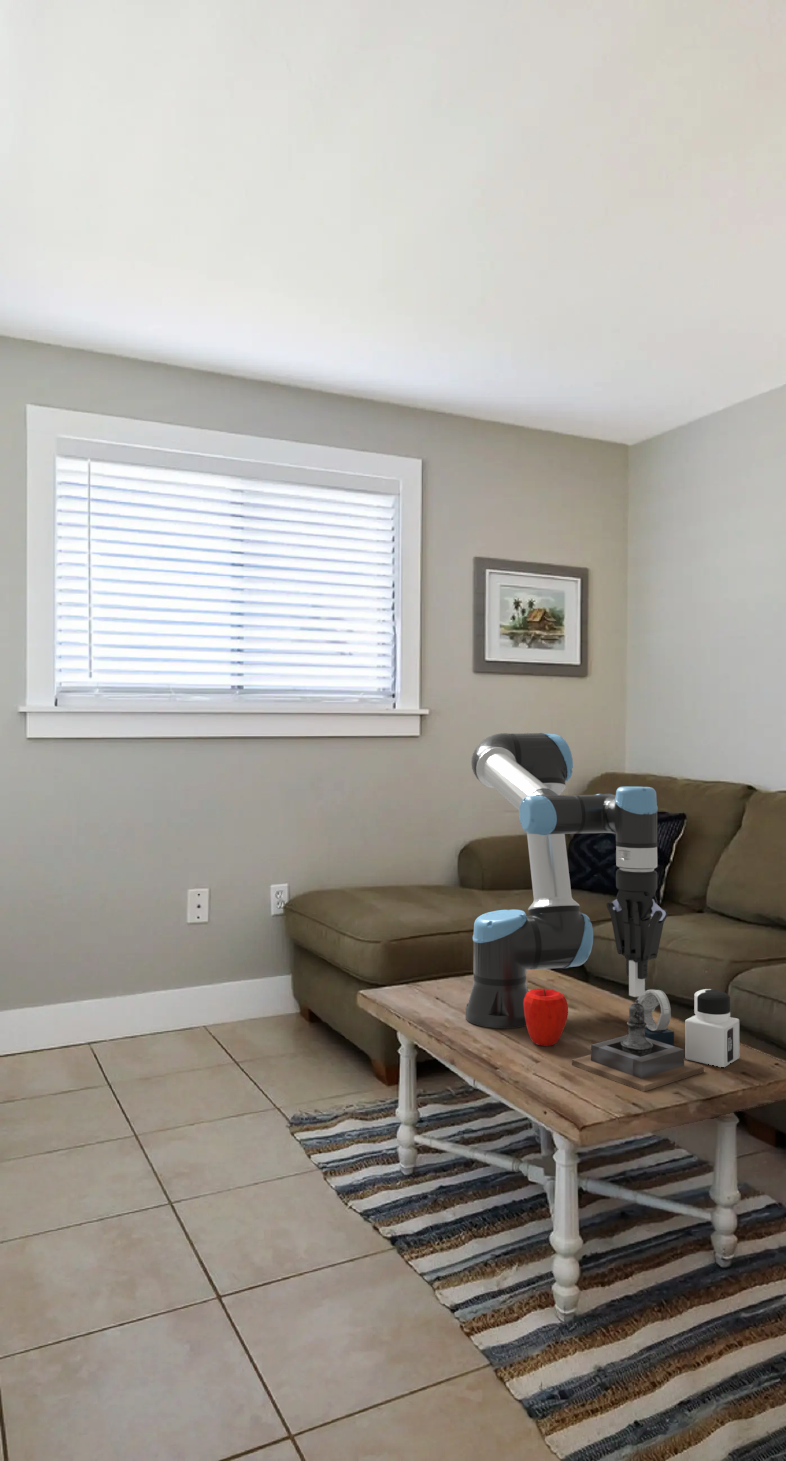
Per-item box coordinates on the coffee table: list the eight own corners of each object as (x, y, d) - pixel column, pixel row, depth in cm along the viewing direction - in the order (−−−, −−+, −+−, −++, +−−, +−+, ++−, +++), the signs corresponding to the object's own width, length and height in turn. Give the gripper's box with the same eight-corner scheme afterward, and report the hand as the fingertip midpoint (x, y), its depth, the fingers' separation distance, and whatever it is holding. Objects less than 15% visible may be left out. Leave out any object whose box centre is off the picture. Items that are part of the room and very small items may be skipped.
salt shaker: (618, 1066, 177) (618, 1001, 177) (623, 1056, 182) (623, 993, 182) (650, 1070, 174) (650, 1004, 175) (655, 1060, 180) (654, 996, 180)
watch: (656, 1038, 197) (656, 984, 197) (678, 1050, 189) (678, 994, 189) (632, 1040, 195) (632, 986, 195) (654, 1052, 188) (654, 996, 188)
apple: (574, 1041, 195) (573, 988, 195) (557, 1052, 187) (557, 997, 188) (533, 1034, 200) (533, 982, 200) (516, 1045, 192) (516, 991, 192)
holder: (571, 1065, 180) (571, 1044, 180) (631, 1048, 190) (631, 1028, 190) (643, 1091, 166) (643, 1068, 166) (703, 1072, 176) (703, 1050, 176)
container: (740, 1058, 184) (739, 991, 184) (723, 1069, 178) (723, 999, 178) (701, 1050, 189) (701, 984, 189) (684, 1060, 183) (684, 992, 184)
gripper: (596, 866, 182) (596, 991, 182) (651, 874, 171) (652, 1006, 171) (622, 864, 186) (623, 985, 186) (677, 871, 176) (678, 999, 175)
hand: (636, 995), depth 178 cm, fingers closed
